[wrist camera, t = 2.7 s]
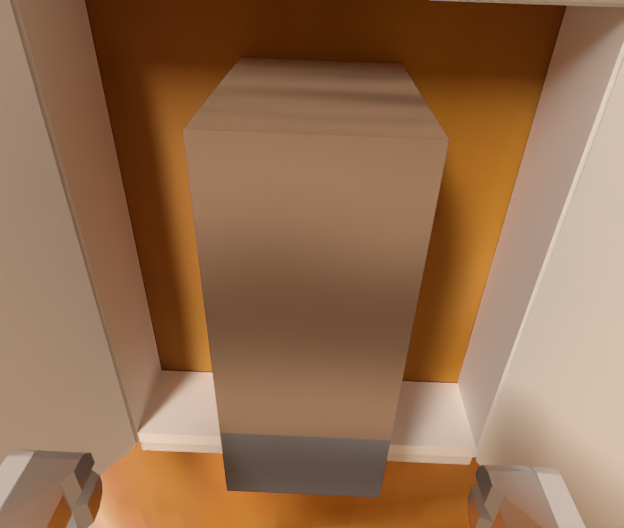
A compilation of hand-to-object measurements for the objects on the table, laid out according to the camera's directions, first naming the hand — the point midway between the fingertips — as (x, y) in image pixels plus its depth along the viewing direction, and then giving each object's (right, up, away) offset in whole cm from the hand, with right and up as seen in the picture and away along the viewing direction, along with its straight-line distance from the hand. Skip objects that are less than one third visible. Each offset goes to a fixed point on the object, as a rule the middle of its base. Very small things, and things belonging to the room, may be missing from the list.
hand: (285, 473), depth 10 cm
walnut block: (+1, +6, +8) cm, 10 cm away
